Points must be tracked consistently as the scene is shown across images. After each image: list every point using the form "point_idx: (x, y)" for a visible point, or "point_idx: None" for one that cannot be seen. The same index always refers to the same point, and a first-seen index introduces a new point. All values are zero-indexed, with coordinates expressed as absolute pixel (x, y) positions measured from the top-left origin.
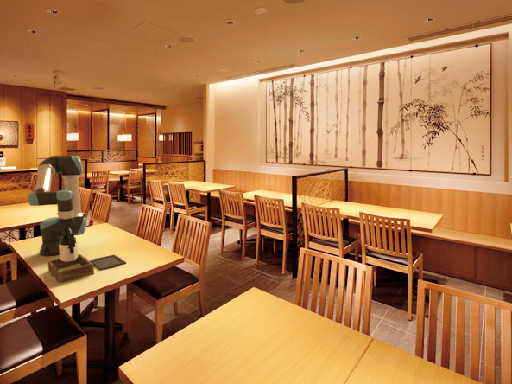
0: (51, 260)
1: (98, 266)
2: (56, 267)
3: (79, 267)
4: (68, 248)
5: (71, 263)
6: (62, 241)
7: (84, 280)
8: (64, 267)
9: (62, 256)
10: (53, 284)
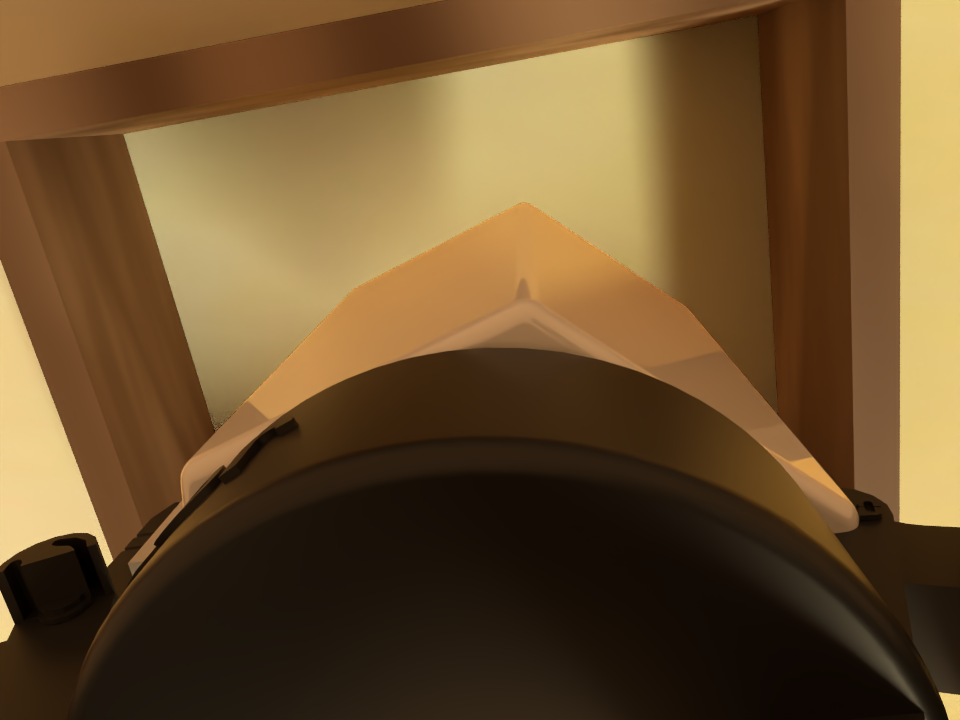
0: (876, 12)
1: None
2: (289, 81)
3: (82, 475)
4: (147, 550)
5: (793, 369)
6: (170, 563)
7: (32, 430)
8: (769, 243)
9: (423, 268)
10: (61, 2)
